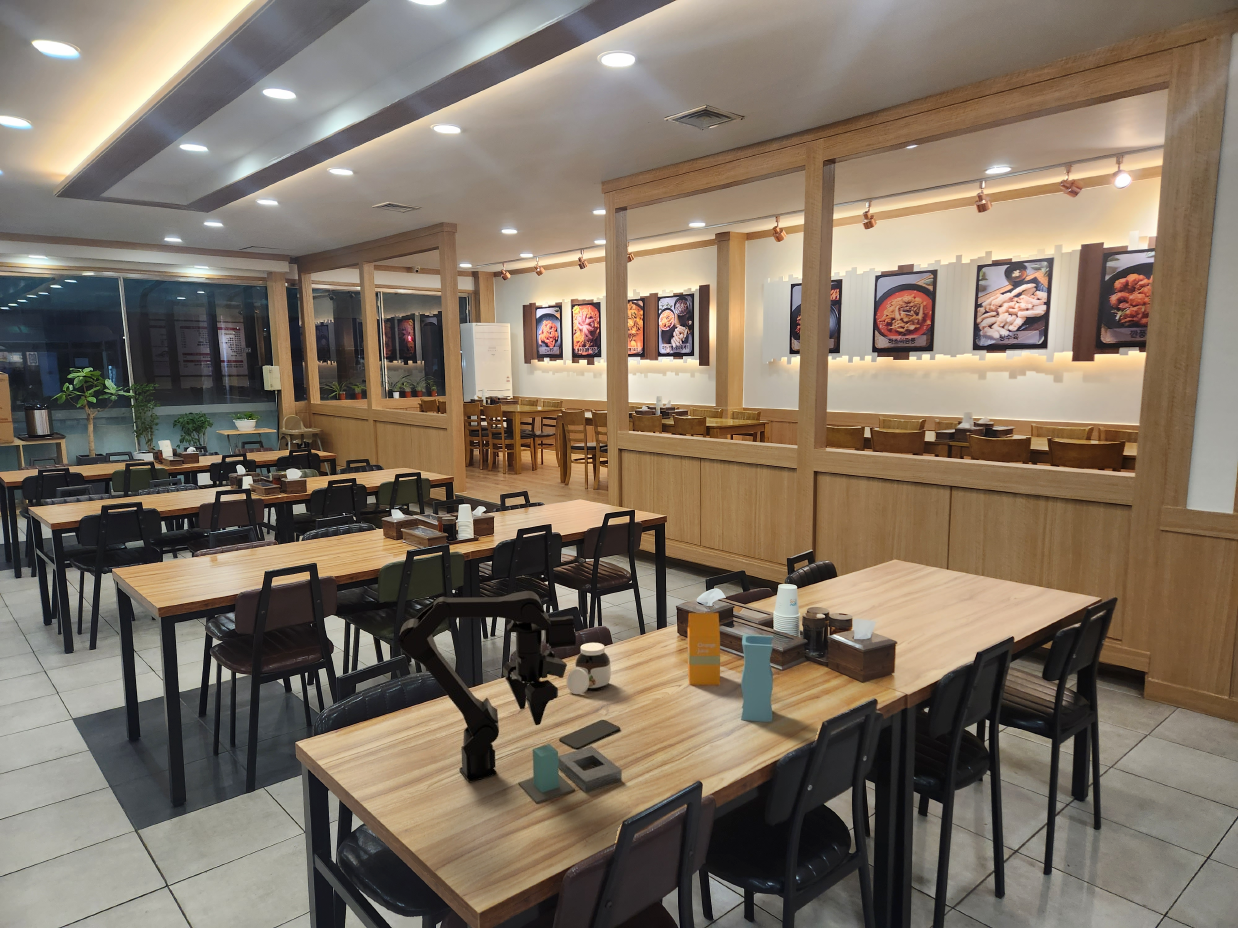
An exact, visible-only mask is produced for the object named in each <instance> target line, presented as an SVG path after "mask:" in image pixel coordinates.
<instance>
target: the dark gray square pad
mask: <svg viewBox="0 0 1238 928" xmlns="http://www.w3.org/2000/svg"><path fill="white" fill-rule="evenodd" d="M517 784H518V786H519V787H520V788H521V789H522V790H523V791H524V792H525V793H526V794H527V796H529V798H531V799H532V801H534V802H535V804H540V803H543V802H545V801H548V800H553V799H554V798H557V797H561V796H563V795H566V794H570V793H572V792H575V791H576V789H575V787H573V786H572V784H570V783H569V782H568V781H567V780H566V779H565V778H564V777H563V776H562V775H560V774H559V787H558V788H555V789H552V790H548V791H545V792H541V791H540V790H539V789H538V788H537V787H536V786H535V785H534V778H533V777H532V778H529V779H525V780H521V781H519V782H518V783H517Z"/></svg>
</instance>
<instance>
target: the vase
mask: <svg viewBox="0 0 1238 928" xmlns="http://www.w3.org/2000/svg"><path fill="white" fill-rule="evenodd" d="M773 637H774V636H773V635H763V634H761V635H760V634H743V635H742V639H741V644H742V650H743V657H744V658H743V659H744V660H743V661H744V663H743V668H742V674H741V679H740V680H741V682H740V684H741V685H740V687H741V691H742V692H741V693H742V698H743V699H742V700H743V701H742V702H743V703H742V706H741V708H742V712H741V718H740V720H741V721H750V722H763V723H769V722H772V721H773V707H772V695H773V690H774V683H773V682H774V676H773V675H774V673H773V670H772V666H771V655H772V651H773V648H774V645H773V644H772V643H773Z"/></svg>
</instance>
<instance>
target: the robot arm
mask: <svg viewBox="0 0 1238 928" xmlns="http://www.w3.org/2000/svg"><path fill="white" fill-rule="evenodd" d="M470 618H471V619H476V618H477V619H479V618H482V619H483V618H485V619H486V618H487V619H488V618H489V619H490V618H499V619H505V620H509V621H511V622H510V623H508V625H506V628H507V633H510V634H511V633H515V651H513V652H512V658H513V659H515V660H513V661H507V662H505V664H504V665H503V666H502V675H503V676H504V679H505V680H506V683H507V684H508V687H509V689H510V691H511V693H512V695H513V697H514V699H515V701H516V704H517V705H518V707H519V709H520V710H522V711H523V710H524V709H526V705H527V706H528V709H529V712H530V715H531V718H532V720H533V723H534V725H535V726H539V725H541V723H542V720H543V716H544V714H545V711H546V707H547V705H548V703H550V702H551V701H554V700H555V699H557V698H558V697H559V688H558V687H557V686H556V685H555V684H554V683H552V682H551V680H549V679H547V678H548V675H549V676H554V677H558V678H561V679H563V678H564V676H565V673H566V670H567V666H568V663H566V662H565V661H564V660H562V659H561V658H559V657H558V656H557V657H556V653H555V652H554V651H552V650H549V649H563V648H575V647H576V645H577V635H576V632H575V631H576V629H575V621H574V617H573V615H567V616H562V617H561V616H559V617H549V615H548V612H547V611H545V609H544V608H543V606H542V602H541V599H540V597H539V595H537V594H536V593H535V592H534V591H532V590H525V591H518V592H513V593H510V594H507V595H503V596H498V597H495V596H494V597H491V596H489V597H488V596H486V597H446V596H441V597H438V598H436V599H435V600H434V602H433V603H431V604H430V606H428V607H426V608H425V609H424V610H423V611H421V612H420V614H418V615H417V616H416V617H415V618H410V619H408V620H407V621H405V622H404V623H403V625H402V626H401V629H400V633H399V636H398V640H397V642H398V646H399V648H400V649H401V650H402V651H403V652H404V653H405V654H406V655H407V656H409V658H411V659H412V660H413V661H415V662H417V663H419V664H421V665H422V666H423V667H424V668H425V669H426V670H427V671H428V673H429V674H430V675H431V677H432V678H433V679H434V680H435V681H436V683H437V684H438V686H439V687H440V688H441V689H442V690H443V691H444V693H445V694H446V695H447V696H448V698H449V700H450V701H452V703H453V704H454V705H455V707H456V708H457V709H458V710H459V712H460V713H461V714H462V717H463V720H464V721H465V724H466V727H465V728H464V730H463V739H462V740H463V742H462V743H463V746H461V766H460V767H459V771H460V773H461V774H462V775H463V777H464V778H465V779H466V780H467V781H468V782H469V783H472V782H476V781H478V780H481V779H486V778H489V777H491V776H496V775H497V770H496V769H495V768H496V750H495V749H494V744H493V743H494V742H495V741H496V740H497V739H498V737H499V733H500V728H499V727H500V726H499V714H498V709H497V708H496V707H494V705H492V703H491V701H490V700H489V698H488V697H486V698H485V699H484V700H483V701H482V700H481V699H478V697H476V696H475V695H474V694H473V692H472V691H471V689H469V688H468V686H467V685H466V684H465V682H464V681H463V680H462V678H461V677H460V676H459V675H458V673H457V672H456V670H454V668H453V667H452V666H451V664H450V663H449V662H448V661H447V660H446V658H445V657H444V656H443V654H442V653H441V652H440V651H439V649H438V647H437V644H436V642H435V638H434V637H433V634H434V632H435V631H436V630H437V629H438V628H439V626H441V624H442V623H444V621H445V620H446V619H470ZM542 632H543V633H542ZM542 634H543V635H542ZM542 637H544V639H543V638H542ZM543 640H544V644H545V645H548V648H549V649H546V650H545V651H544V653H543V647H542V646H543V645H542V643H543ZM541 679H544V680H541ZM545 679H546V680H545Z"/></svg>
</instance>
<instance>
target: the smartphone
mask: <svg viewBox="0 0 1238 928" xmlns="http://www.w3.org/2000/svg"><path fill="white" fill-rule="evenodd" d="M620 731H621V727H620V726H619V725H616V724H614V723H612V722H610V721H608V720H606V719H600V720H598V721H595V722H593V723H590V724H588V725H586V726H584V727H582V728H580V729H577V730H575V731H572V732H570V733H568V734H566V735H564V736H561V737H560V738H559V739H558V741H559V743H561V744H564V745H566V746H567V747H569V748H571V749H573V750H575V751H576V750H580V749H583V748H586V747H588V746H590V745H593V744H594V743H596V742H598V741H601V740H602V739H605V738H608V737H610V736H612V735H614V734H616V733H619V732H620Z"/></svg>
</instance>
